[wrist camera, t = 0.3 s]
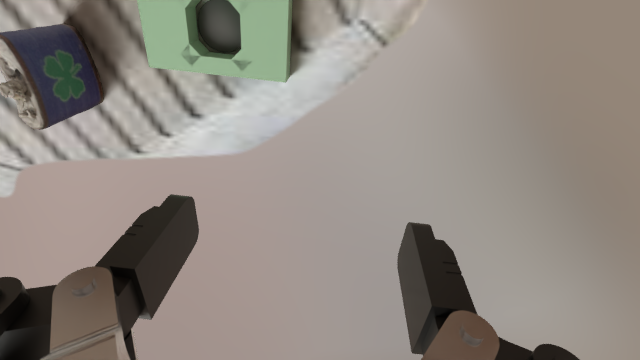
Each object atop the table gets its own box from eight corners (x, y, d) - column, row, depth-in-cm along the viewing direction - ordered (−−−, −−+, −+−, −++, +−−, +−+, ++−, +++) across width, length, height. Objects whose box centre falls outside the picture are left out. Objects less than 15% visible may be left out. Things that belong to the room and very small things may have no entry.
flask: (56, 23, 36) (-45, 36, 26) (81, 23, 35) (-12, 36, 26) (87, 104, 40) (11, 139, 31) (110, 104, 40) (40, 140, 31)
